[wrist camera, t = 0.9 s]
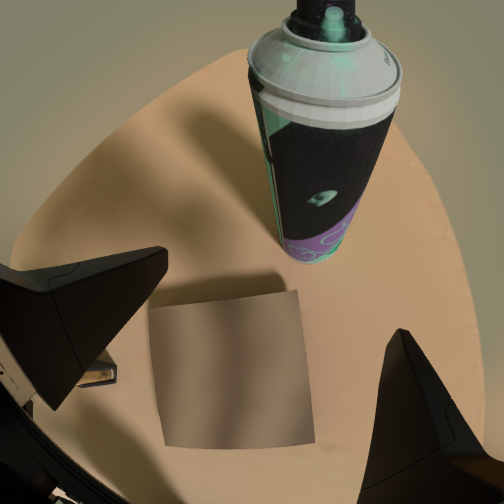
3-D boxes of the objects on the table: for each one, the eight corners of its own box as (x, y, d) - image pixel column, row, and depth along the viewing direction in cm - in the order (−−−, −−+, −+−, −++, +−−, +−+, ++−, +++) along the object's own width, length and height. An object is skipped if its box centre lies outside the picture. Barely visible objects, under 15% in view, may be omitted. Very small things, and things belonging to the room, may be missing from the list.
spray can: (305, 277, 23) (334, 50, 4) (266, 229, 24) (196, -1, 5) (353, 238, 23) (449, 21, 4) (313, 194, 25) (321, -31, 6)
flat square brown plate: (176, 436, 20) (165, 445, 18) (161, 311, 24) (148, 308, 21) (313, 432, 19) (315, 442, 16) (296, 294, 22) (296, 289, 20)
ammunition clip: (50, 358, 24) (-31, 352, 13) (51, 343, 25) (-31, 333, 13) (116, 383, 22) (21, 396, 11) (117, 365, 23) (20, 370, 11)
